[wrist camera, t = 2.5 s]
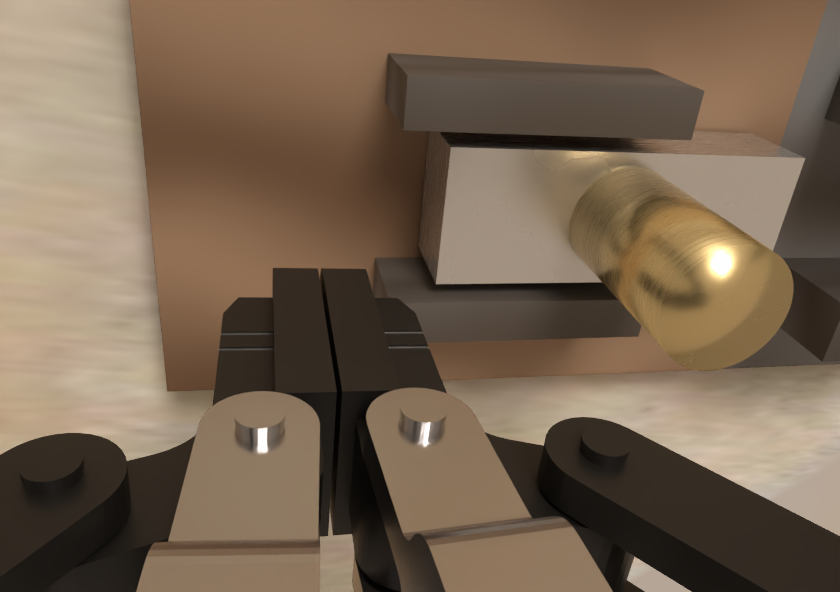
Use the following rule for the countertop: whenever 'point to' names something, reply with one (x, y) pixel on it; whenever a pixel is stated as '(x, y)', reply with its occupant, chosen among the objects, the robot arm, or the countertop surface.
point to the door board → (470, 113)
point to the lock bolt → (623, 228)
